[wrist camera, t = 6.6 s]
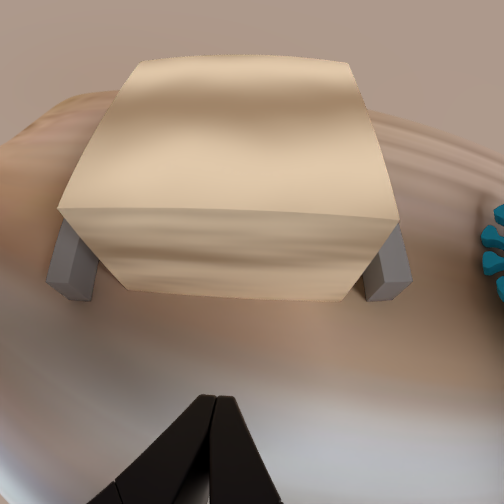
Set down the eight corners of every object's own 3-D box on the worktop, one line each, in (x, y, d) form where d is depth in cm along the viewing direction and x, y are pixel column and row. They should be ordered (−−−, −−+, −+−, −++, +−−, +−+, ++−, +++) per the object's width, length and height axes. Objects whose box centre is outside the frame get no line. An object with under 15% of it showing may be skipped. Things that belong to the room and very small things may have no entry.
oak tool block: (339, 302, 15) (399, 219, 8) (128, 290, 15) (56, 208, 9) (325, 159, 20) (347, 63, 13) (164, 154, 20) (140, 61, 13)
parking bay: (392, 299, 15) (412, 281, 13) (69, 299, 15) (45, 282, 13) (351, 137, 21) (358, 111, 18) (115, 143, 21) (105, 118, 18)
